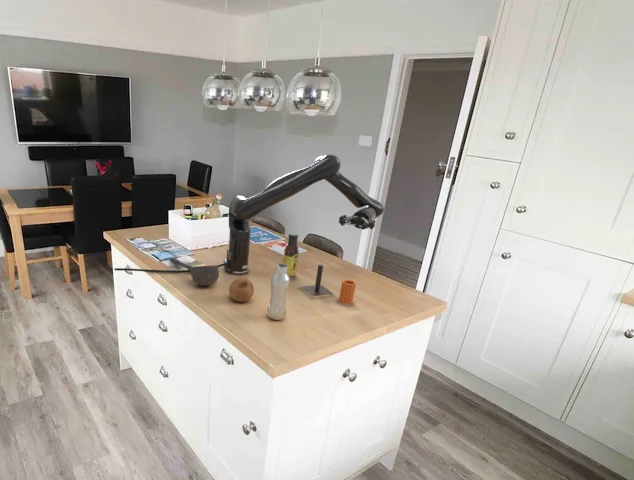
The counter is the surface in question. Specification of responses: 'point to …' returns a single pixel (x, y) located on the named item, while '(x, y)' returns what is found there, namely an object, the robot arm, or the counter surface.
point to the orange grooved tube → (347, 291)
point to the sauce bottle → (291, 255)
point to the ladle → (201, 273)
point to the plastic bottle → (278, 293)
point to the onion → (241, 290)
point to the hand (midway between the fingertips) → (352, 225)
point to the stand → (317, 285)
